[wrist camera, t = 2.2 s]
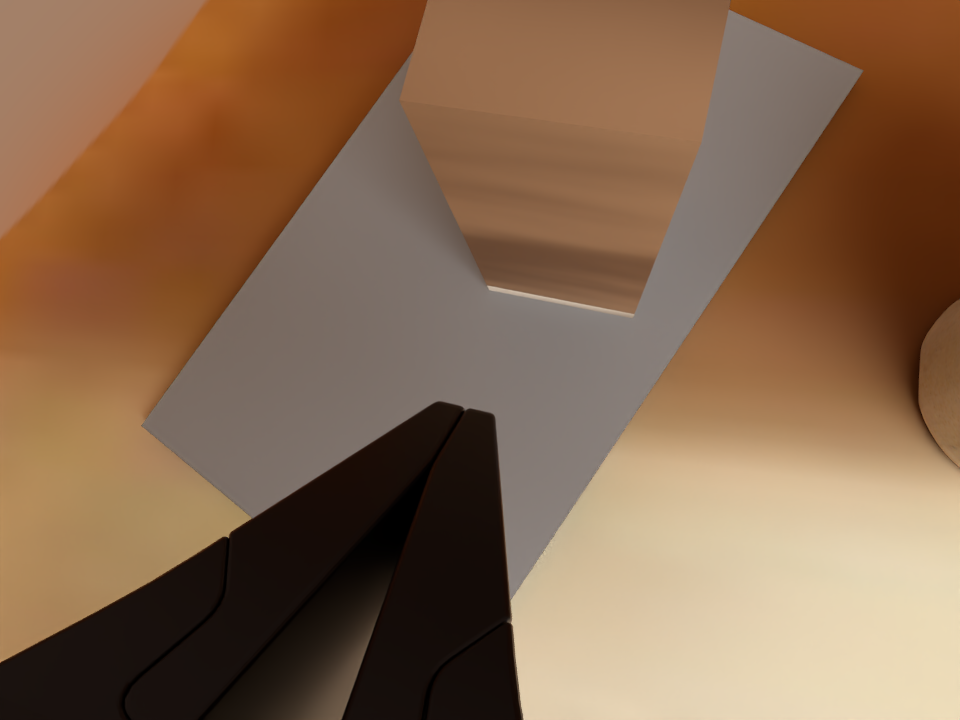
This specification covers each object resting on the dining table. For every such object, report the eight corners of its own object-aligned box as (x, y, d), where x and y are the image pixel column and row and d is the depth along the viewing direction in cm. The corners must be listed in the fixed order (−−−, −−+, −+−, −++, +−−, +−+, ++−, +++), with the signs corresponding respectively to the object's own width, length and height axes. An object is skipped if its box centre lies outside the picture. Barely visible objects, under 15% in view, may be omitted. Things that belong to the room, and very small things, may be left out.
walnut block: (632, 318, 18) (701, 142, 8) (489, 290, 19) (398, 100, 9) (662, 181, 19) (758, -133, 9) (521, 159, 20) (470, -148, 10)
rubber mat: (456, 680, 17) (453, 685, 17) (149, 426, 20) (141, 425, 20) (857, 78, 19) (863, 70, 18) (514, -78, 22) (513, -88, 21)
